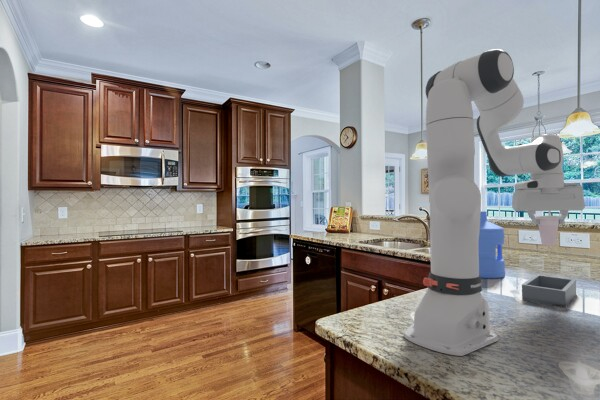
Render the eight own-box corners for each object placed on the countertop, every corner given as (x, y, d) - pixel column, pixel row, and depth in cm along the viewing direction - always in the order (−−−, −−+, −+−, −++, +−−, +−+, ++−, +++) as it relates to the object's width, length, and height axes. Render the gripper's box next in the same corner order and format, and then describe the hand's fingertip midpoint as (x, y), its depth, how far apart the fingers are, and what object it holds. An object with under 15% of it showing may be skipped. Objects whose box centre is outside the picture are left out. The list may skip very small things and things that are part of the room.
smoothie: (562, 246, 100) (560, 202, 101) (537, 245, 104) (535, 203, 105) (559, 244, 106) (557, 203, 106) (536, 243, 109) (534, 203, 110)
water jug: (469, 278, 132) (468, 212, 133) (460, 270, 148) (458, 211, 148) (511, 279, 129) (510, 211, 129) (497, 271, 144) (495, 210, 144)
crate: (565, 307, 94) (565, 291, 94) (522, 299, 102) (521, 284, 103) (576, 294, 107) (576, 279, 108) (537, 288, 116) (536, 274, 116)
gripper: (575, 183, 106) (577, 223, 106) (509, 184, 110) (510, 223, 110) (589, 182, 100) (590, 225, 100) (518, 183, 104) (519, 225, 104)
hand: (547, 224), depth 105 cm, fingers closed on smoothie, 6 cm apart
